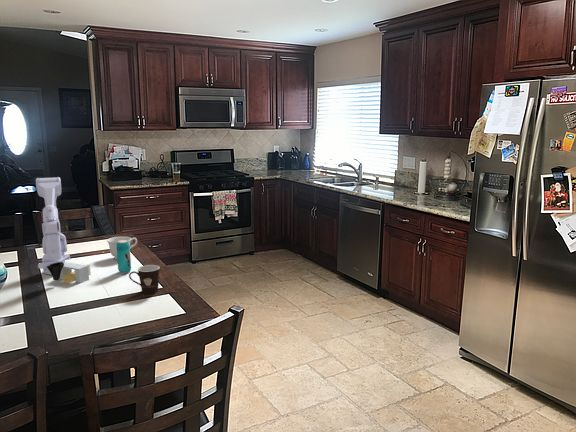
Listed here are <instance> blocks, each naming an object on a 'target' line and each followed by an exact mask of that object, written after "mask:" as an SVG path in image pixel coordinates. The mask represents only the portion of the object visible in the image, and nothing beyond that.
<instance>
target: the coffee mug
mask: <svg viewBox="0 0 576 432" xmlns="http://www.w3.org/2000/svg"><path fill="white" fill-rule="evenodd" d="M128 274H129V275H128V277H129V280H130V281H132V282H133V283H135V284H137V285H139V287H140V288H141V293H142V294H144V295H153V294H156V293H158V291H159V285H160V284H159V281H160V266H159V265H156V264H147V265H143V266H140V267H139V266H138V268H137V271H130V272H129V273H128ZM133 274H137V276H138V277H139V282H140V283H139V282H138V281H136V280H134V278H132V276H131V275H133Z"/></svg>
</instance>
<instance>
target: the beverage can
mask: <svg viewBox="0 0 576 432" xmlns="http://www.w3.org/2000/svg"><path fill="white" fill-rule="evenodd" d="M116 246H117V269H118V272H119V274H121V275H122V274H123V275H125V274H130V273H131V270H132V261H131V260H132V258H131V249H130V246H131V243H130V244H129V240H119V241H117V244H116Z"/></svg>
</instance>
